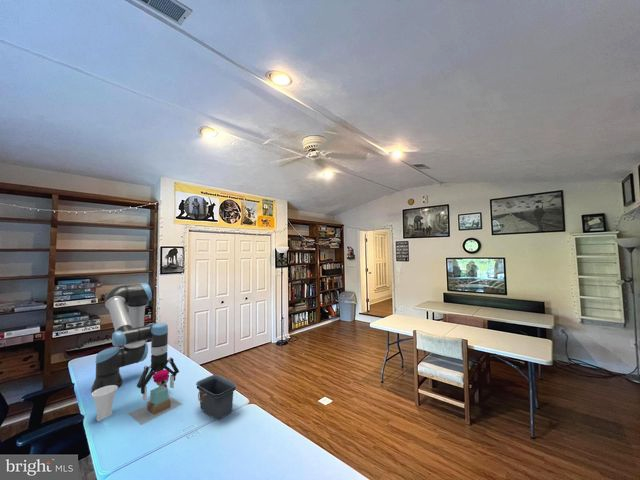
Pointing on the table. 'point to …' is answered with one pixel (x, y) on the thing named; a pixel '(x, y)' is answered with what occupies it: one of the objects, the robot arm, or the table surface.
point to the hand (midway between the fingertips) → (158, 393)
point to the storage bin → (216, 395)
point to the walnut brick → (158, 406)
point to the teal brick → (158, 395)
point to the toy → (161, 378)
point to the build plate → (144, 415)
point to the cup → (104, 401)
